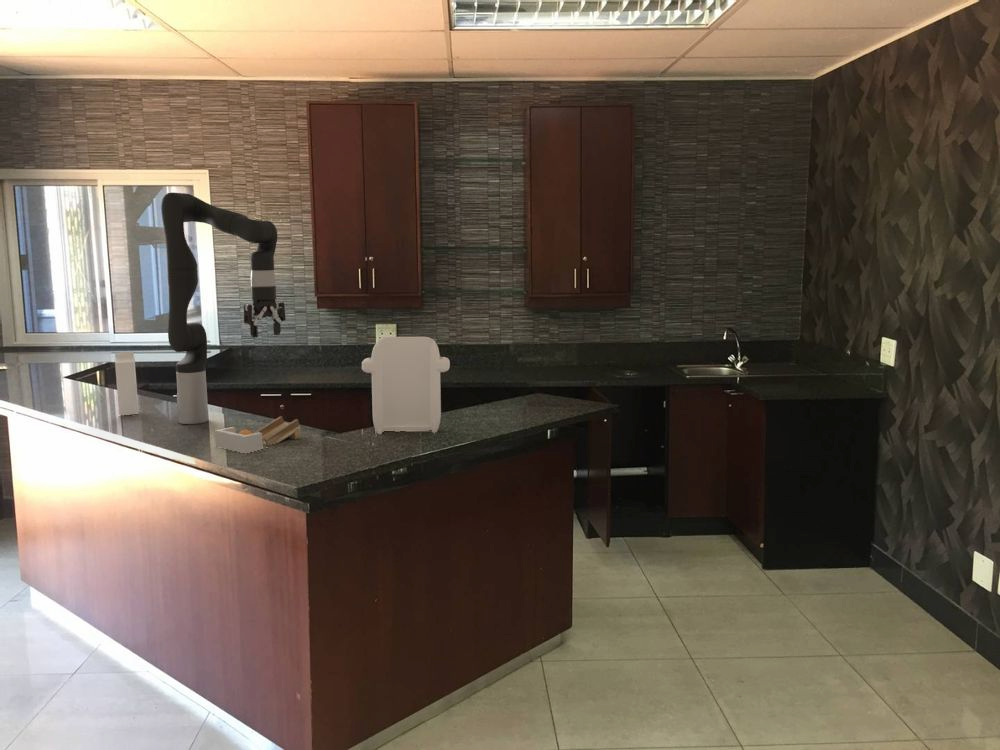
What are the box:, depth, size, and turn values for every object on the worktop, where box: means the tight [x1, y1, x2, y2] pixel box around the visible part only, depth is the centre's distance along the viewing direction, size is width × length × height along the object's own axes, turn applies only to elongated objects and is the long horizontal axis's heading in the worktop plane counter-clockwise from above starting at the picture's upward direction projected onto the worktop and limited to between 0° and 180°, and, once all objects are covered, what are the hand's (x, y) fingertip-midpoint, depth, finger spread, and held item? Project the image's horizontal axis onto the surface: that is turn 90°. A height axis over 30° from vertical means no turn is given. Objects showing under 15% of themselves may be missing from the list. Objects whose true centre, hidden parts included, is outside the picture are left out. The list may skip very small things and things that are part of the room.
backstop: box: [214, 426, 264, 455], centre depth 242 cm, size 14×6×5 cm, turn 53°
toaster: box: [361, 336, 451, 435], centre depth 262 cm, size 27×11×30 cm, turn 92°
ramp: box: [253, 415, 302, 446], centre depth 252 cm, size 8×13×7 cm, turn 144°
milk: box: [114, 351, 139, 416], centre depth 290 cm, size 6×6×22 cm
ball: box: [238, 429, 254, 435], centre depth 244 cm, size 5×5×5 cm
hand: (265, 336), depth 263 cm, fingers open, 8 cm apart
